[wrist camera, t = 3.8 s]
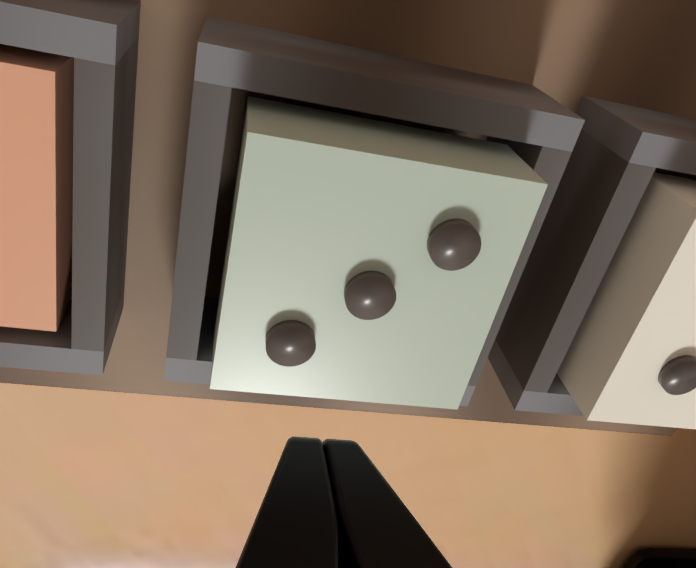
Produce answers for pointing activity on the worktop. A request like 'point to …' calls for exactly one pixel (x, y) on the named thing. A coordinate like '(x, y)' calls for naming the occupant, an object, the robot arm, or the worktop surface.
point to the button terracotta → (35, 187)
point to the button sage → (365, 257)
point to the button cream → (643, 319)
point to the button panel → (362, 101)
